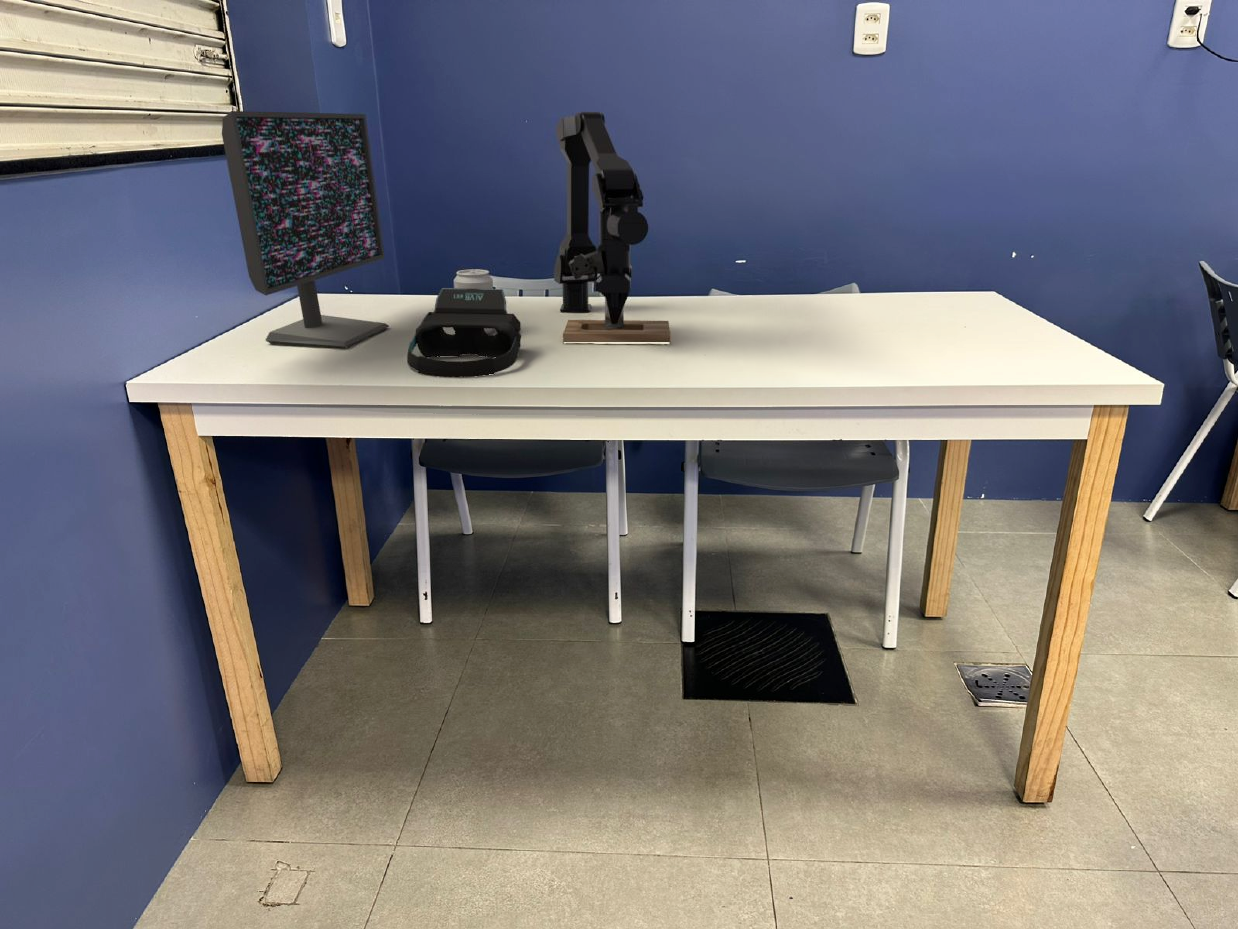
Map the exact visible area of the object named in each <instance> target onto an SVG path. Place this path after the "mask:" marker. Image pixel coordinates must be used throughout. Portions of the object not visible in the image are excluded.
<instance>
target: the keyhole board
mask: <svg viewBox="0 0 1238 929" xmlns="http://www.w3.org/2000/svg"><path fill="white" fill-rule="evenodd" d="M563 342H670V343H671V329H670V322H669V320H638V319H637V320H631V319H630V320H627V319H626V320H625V319H624V330H605V319H567V322H566V325H565V328H564V330H563V333H562V343H563Z"/></svg>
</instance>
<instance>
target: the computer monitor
mask: <svg viewBox="0 0 1238 929" xmlns="http://www.w3.org/2000/svg"><path fill="white" fill-rule="evenodd" d="M366 115H367V114H366V113H334V112H333V113H332V112H331V113H330V112H329V113H327V112H326V113H323V112H293V111H292V112H288V111H287V112H286V111H247V110H244V111H243V110H242V111H241V110H231V111H230V112H228V113H227V114H225V116H224V117H222V124H221V125H222V126H221V137H222V142H223V148H224V152H225V157H226V162H227V169H228V173H229V174H228V175H229V179H230V184H231V189H232V195H233V200H234V204H235V209H236V215H237V220H238V225H239V226H238V227H239V231H240V236H241V242H242V248H243V251H244V252H243V253H244V257H245V262H246V267H247V272H248V277H249V279H250V281H251V284H252V286H253V288H254V290H255V291H256V292H258V293H260V294H262V295H263V296H268V295H272V294H275V293H279V292H281V291H284V290H285V291H286V290H288V289H292V288H294V287H296V288H297V292H298V293H297V294H298V298H299V299H298V300H299V303H300V304H299V305H300V310H301V315H302V319H300V320H297V321H294V322H292V323H289V324H287V325H285V326H284V325H283V326H281V327H279V328H276V329H274V330H271V331H269V332H268V335H267V336H266V338H265V342H267V343H269V344H271V345H282V346H283V345H285V346H300V347H312V348H313V347H315V348H317V347H318V348H331V349H333V348H334V349H347V348H349V347H351V346H354V345H355V344H357V343H360V342H361V341H364V340H366V339H367V338H369V337H372V336H374V335H375V334H378V333H381V332H382V331H384V330H386V329H387V328H389V327H390V324H388V323H386V322H379V321H370V320H362V319H356V318H347V317H341V316H339V317H338V316H332V315H326V314H321V307H320V303H319V297H318V291H317V287H316V286H317V285H316V280H320V279H323V278H326V277H329V276H332V275H337V274H339V273H341V272H345V271H349V270H351V269H355V268H357V267H361V266H365V265H367V264H370V263H374V262H378V261H380V260H383V259H385V258H386V257H385V251H384V243H383V242H384V241H383V235H382V227H381V221H380V212H379V205H378V197H377V191H376V190H377V189H376V183H375V176H374V169H373V160H372V159H373V158H372V152H371V146H370V140H369V139H370V138H369V130H368V123H367V117H366ZM363 339H364V340H363Z"/></svg>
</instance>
